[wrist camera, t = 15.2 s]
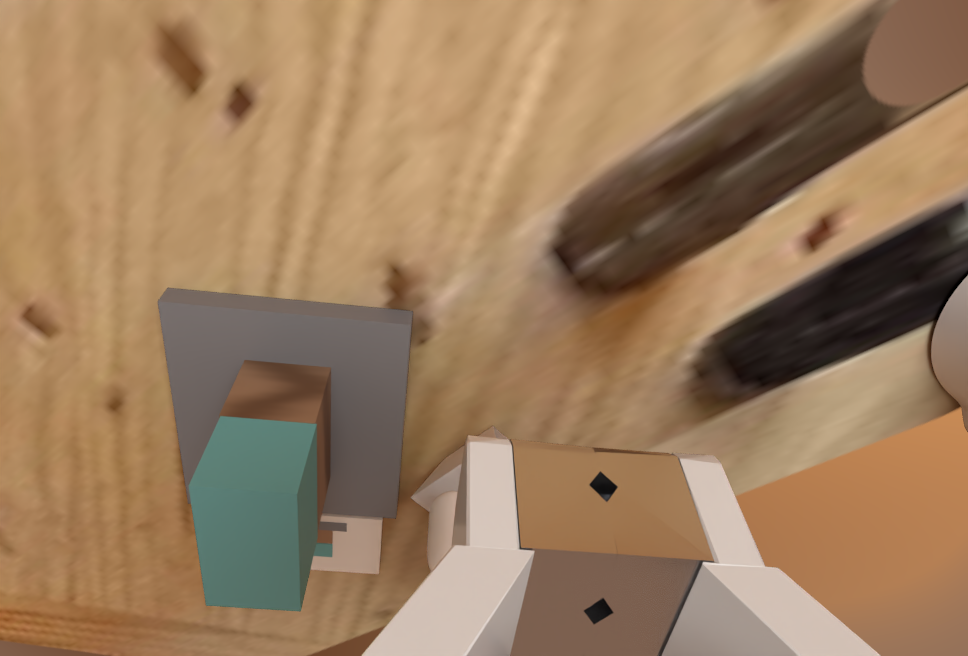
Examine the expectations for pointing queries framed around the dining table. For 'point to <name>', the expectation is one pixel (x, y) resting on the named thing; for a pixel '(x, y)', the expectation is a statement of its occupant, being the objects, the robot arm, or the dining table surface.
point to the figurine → (443, 501)
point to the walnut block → (287, 404)
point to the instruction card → (348, 544)
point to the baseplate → (303, 341)
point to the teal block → (256, 513)
